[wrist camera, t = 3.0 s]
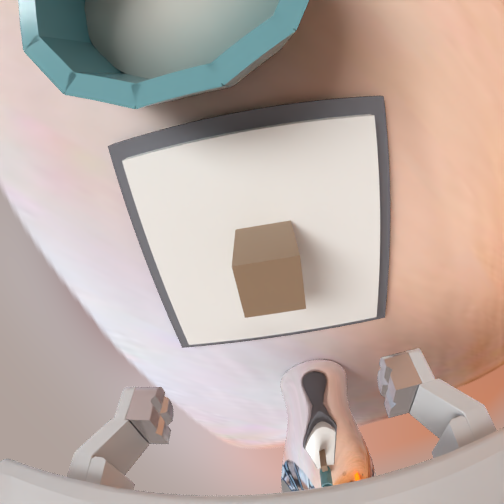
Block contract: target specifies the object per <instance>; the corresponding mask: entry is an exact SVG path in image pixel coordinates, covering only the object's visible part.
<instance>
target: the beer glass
mask: <svg viewBox="0 0 504 504" xmlns="http://www.w3.org/2000/svg"><path fill="white" fill-rule="evenodd" d="M280 387H281V392H282V395H283V398H284V401H285V404H286V408H287V418H288V424H287V434H286V441H285V448H284V456H283V464H282V476H281V478H282V479H281V483H282V484H281V485H282V493H284V492H293V491H301V490H308V489H315V488H321V487H327V486H333V485H338V484H343V483H348V482H353V481H357V480H362V479H366V478H370V477H374V476H376V473H375V469H374V465H373V462H372V459H371V456H370V453H369V451H368V448H367V446H366V444H365V441H364V439H363V437H362V435H361V433H360V430H359V428H358V426H357V424H356V422H355V420H354V417H353V415H352V413H351V410H350V407H349V404H348V398H347V378H346V372H345V370H344V368H343V367H342V366H341V365H340V364H338V363H336V362H334V361H330V360H322V359H319V360H310V361H306V362H302V363H300V364H297V365H295V366H294V367H292V368H290V369H289V370H288V371H287V372H286V373H285V374H284V375H283V377H282V379H281V382H280Z"/></svg>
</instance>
